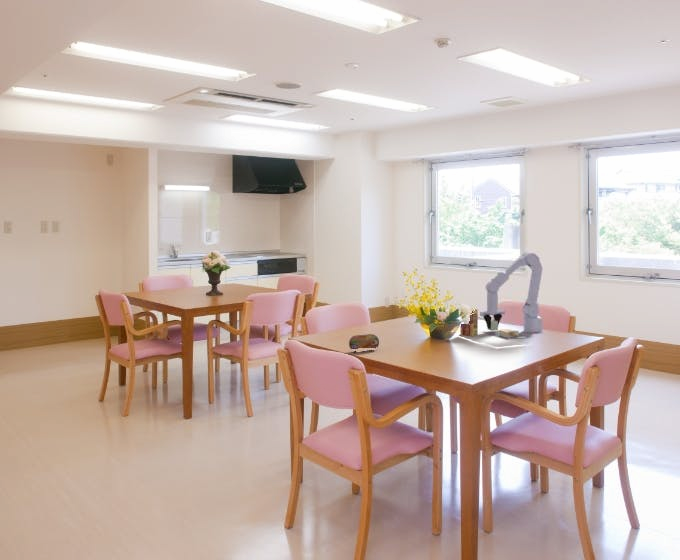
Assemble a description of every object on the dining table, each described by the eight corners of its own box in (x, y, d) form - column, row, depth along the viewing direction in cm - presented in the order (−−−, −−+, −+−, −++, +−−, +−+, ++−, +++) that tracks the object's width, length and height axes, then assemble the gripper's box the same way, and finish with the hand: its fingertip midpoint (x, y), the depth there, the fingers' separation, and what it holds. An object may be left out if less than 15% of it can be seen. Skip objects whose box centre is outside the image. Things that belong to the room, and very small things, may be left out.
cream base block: (511, 334, 319) (511, 328, 319) (518, 336, 312) (518, 330, 312) (499, 335, 317) (499, 329, 317) (507, 337, 310) (506, 332, 310)
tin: (350, 353, 289) (349, 336, 288) (348, 352, 292) (347, 335, 291) (379, 350, 293) (379, 333, 292) (377, 349, 296) (377, 332, 295)
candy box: (478, 337, 319) (478, 309, 318) (473, 338, 317) (473, 309, 315) (465, 335, 326) (464, 307, 325) (460, 336, 323) (459, 308, 322)
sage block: (493, 328, 329) (493, 319, 328) (497, 330, 325) (497, 320, 325) (487, 329, 328) (487, 320, 327) (491, 330, 324) (491, 321, 324)
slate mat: (503, 331, 333) (503, 329, 332) (530, 339, 309) (530, 337, 309) (481, 333, 329) (481, 331, 328) (506, 341, 305) (506, 339, 305)
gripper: (500, 301, 331) (500, 325, 332) (476, 303, 327) (477, 327, 328) (507, 303, 324) (507, 327, 326) (483, 305, 320) (483, 330, 321)
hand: (492, 328), depth 326 cm, fingers closed on sage block, 4 cm apart
